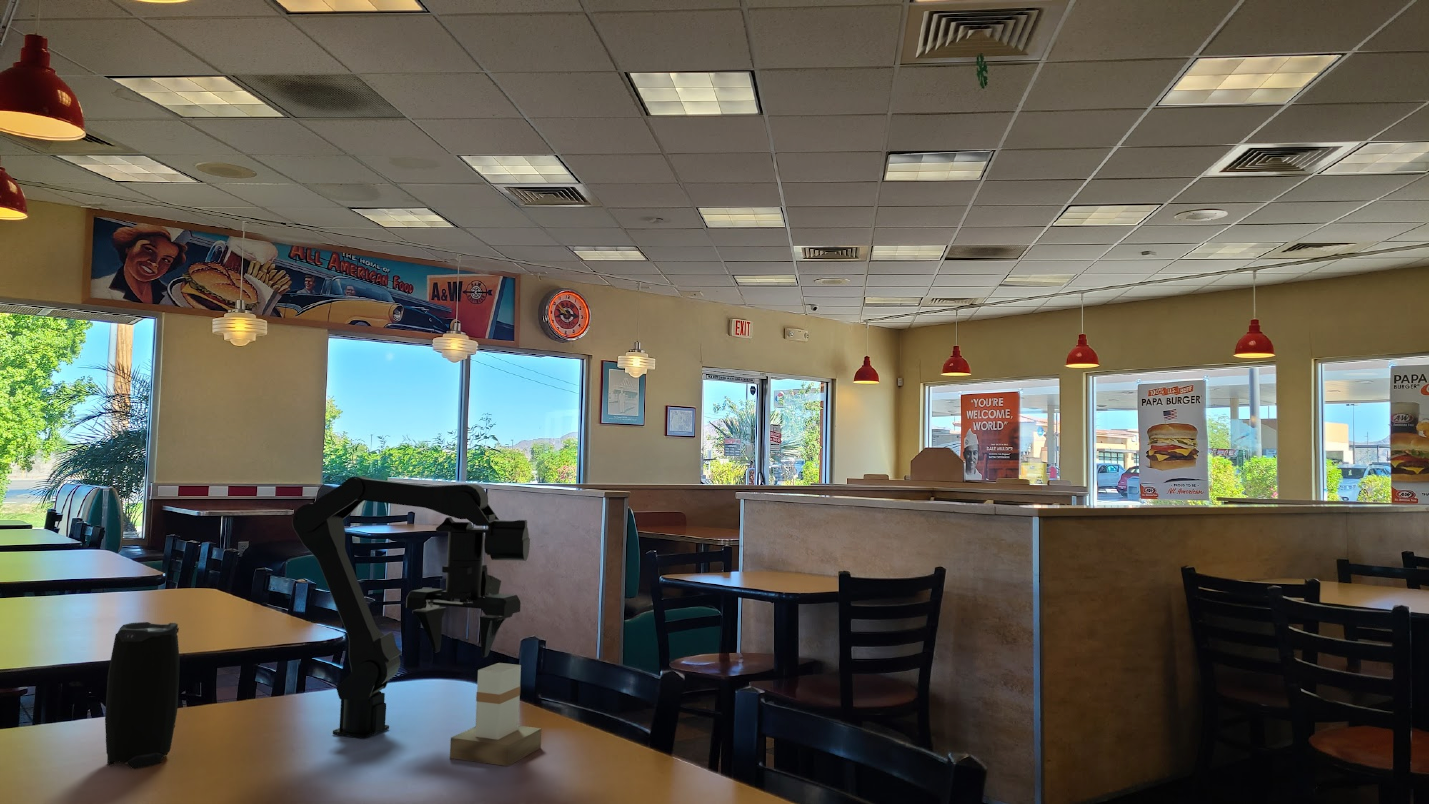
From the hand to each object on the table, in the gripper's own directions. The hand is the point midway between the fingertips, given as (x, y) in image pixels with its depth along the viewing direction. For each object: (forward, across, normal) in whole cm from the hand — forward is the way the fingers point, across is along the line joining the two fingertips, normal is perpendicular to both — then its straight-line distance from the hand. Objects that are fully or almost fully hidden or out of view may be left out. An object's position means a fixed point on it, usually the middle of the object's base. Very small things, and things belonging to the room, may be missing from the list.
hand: (460, 654), depth 156 cm
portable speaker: (+13, +34, +30) cm, 47 cm away
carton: (+10, -11, +6) cm, 16 cm away
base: (+13, -11, +6) cm, 18 cm away
